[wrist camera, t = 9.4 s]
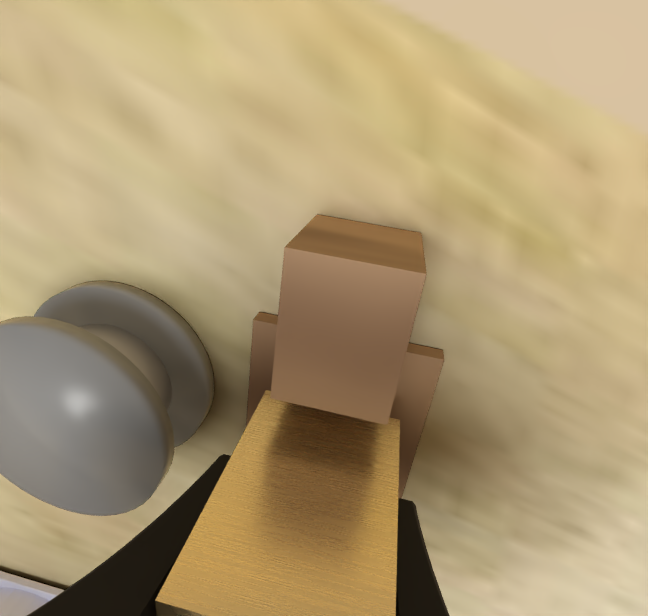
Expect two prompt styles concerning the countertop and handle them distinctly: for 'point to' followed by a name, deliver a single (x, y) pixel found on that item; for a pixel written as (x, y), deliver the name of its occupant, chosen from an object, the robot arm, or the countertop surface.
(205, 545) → the golden wooden block
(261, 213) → the countertop surface
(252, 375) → the notched board
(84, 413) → the grey yo-yo
